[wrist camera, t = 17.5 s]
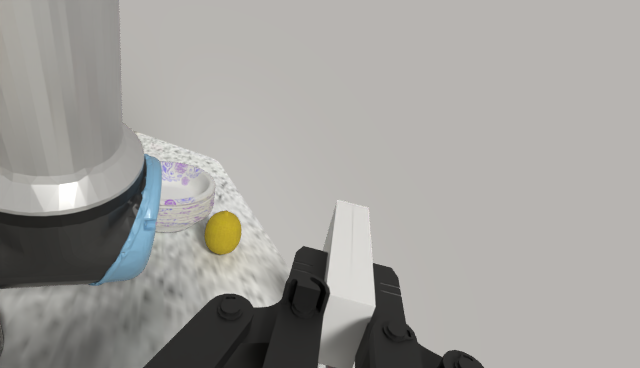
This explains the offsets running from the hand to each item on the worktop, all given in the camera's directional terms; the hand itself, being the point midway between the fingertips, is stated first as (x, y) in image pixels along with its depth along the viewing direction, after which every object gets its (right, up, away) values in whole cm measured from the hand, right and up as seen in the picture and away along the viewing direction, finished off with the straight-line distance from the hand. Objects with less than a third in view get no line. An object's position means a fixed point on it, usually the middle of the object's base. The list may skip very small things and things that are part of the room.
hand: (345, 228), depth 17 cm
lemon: (-17, -9, +41) cm, 45 cm away
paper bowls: (-28, -4, +46) cm, 55 cm away
